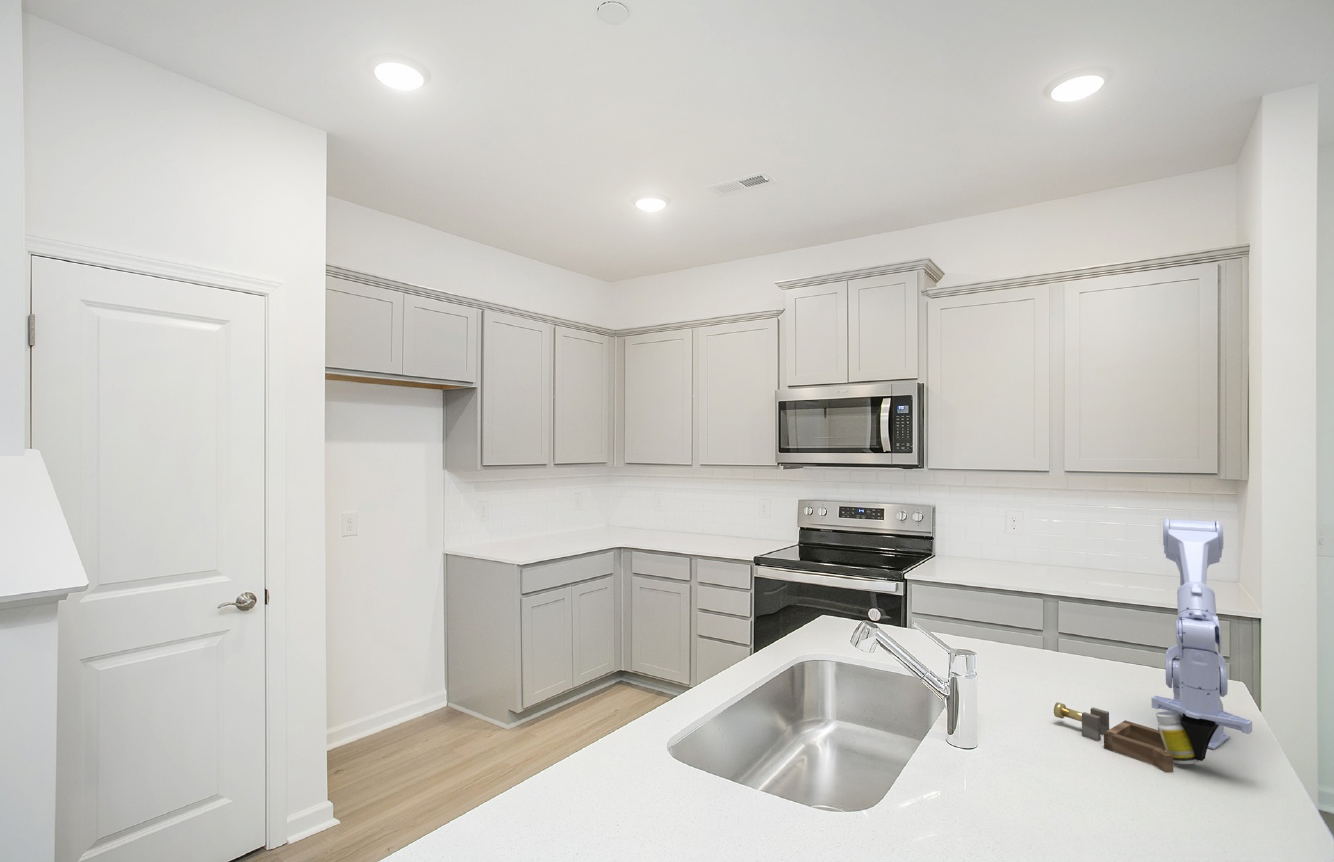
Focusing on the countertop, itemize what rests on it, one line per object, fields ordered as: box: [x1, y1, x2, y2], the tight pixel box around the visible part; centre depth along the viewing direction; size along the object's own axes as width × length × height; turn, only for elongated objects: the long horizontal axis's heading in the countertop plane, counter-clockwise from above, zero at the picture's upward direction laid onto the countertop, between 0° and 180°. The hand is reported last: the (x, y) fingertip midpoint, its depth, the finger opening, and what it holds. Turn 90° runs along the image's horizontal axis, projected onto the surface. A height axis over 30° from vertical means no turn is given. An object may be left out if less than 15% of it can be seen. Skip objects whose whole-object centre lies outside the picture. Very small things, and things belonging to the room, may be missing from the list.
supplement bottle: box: [1155, 710, 1200, 765], centre depth 125 cm, size 5×5×8 cm
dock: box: [1081, 707, 1174, 773], centre depth 131 cm, size 13×16×5 cm
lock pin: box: [1053, 702, 1083, 723], centre depth 140 cm, size 3×7×3 cm, turn 35°
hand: (1200, 759), depth 122 cm, fingers closed
